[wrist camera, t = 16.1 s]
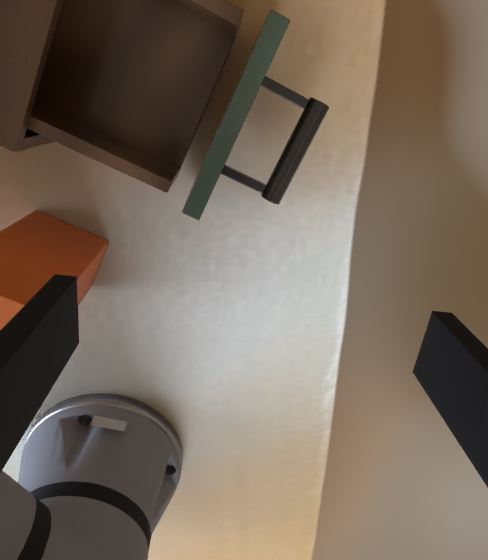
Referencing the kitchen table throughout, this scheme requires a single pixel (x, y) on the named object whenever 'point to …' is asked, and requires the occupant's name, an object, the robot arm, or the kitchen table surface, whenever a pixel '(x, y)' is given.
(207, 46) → the drawer
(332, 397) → the kitchen table surface
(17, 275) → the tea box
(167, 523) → the kitchen table surface
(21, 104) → the cabinet
